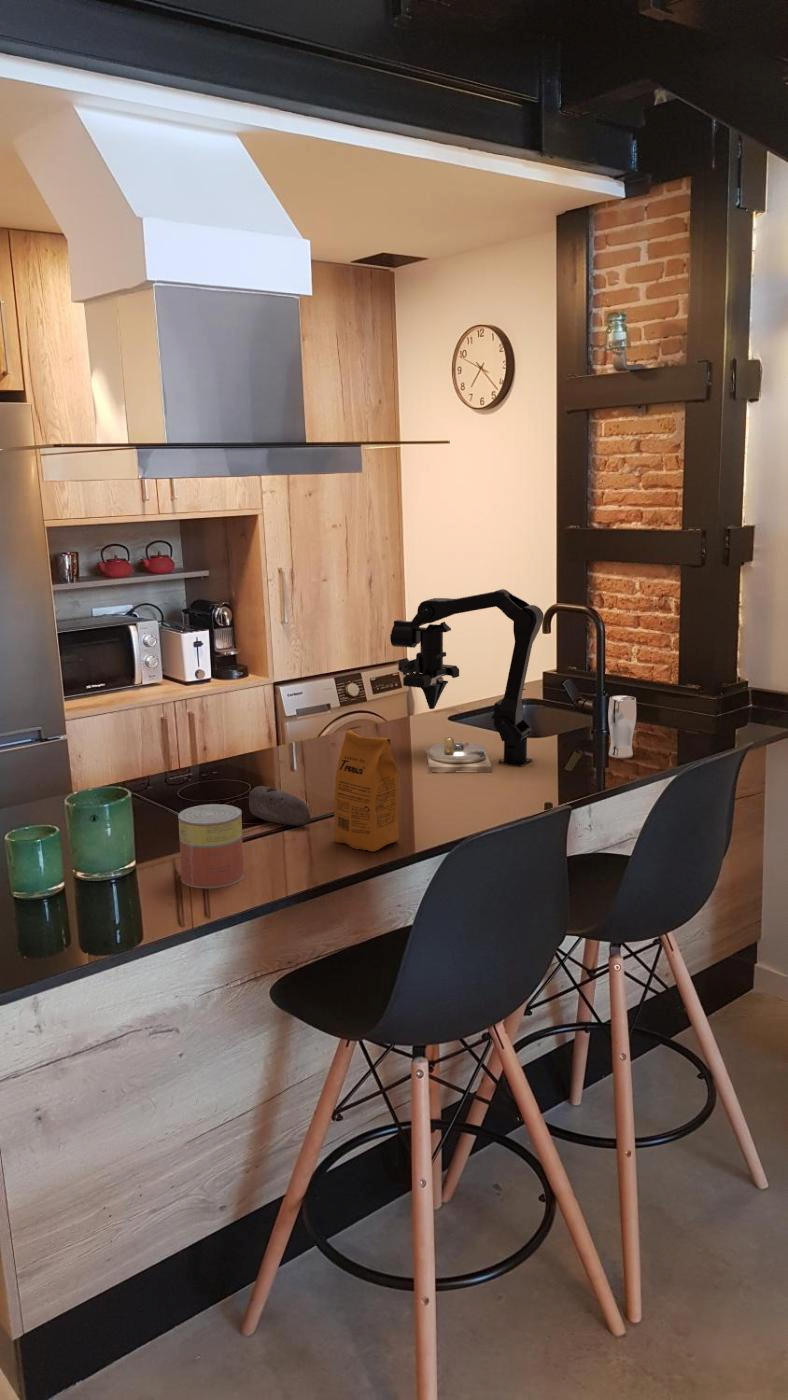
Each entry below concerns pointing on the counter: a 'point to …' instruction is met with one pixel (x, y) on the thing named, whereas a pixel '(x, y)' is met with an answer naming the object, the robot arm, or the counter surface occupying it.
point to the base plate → (458, 765)
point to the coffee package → (366, 793)
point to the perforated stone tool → (278, 806)
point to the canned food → (211, 845)
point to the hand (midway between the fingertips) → (431, 708)
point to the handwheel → (457, 752)
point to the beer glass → (621, 725)
